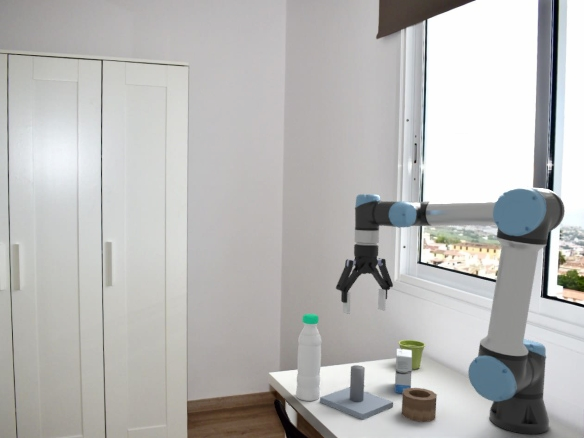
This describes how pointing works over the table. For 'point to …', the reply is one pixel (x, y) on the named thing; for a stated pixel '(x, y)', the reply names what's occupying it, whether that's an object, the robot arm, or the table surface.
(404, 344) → the plant pot
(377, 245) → the robot arm
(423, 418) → the collar
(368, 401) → the stand
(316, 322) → the water bottle
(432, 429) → the table surface
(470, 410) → the table surface
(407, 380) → the ink box
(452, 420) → the table surface
